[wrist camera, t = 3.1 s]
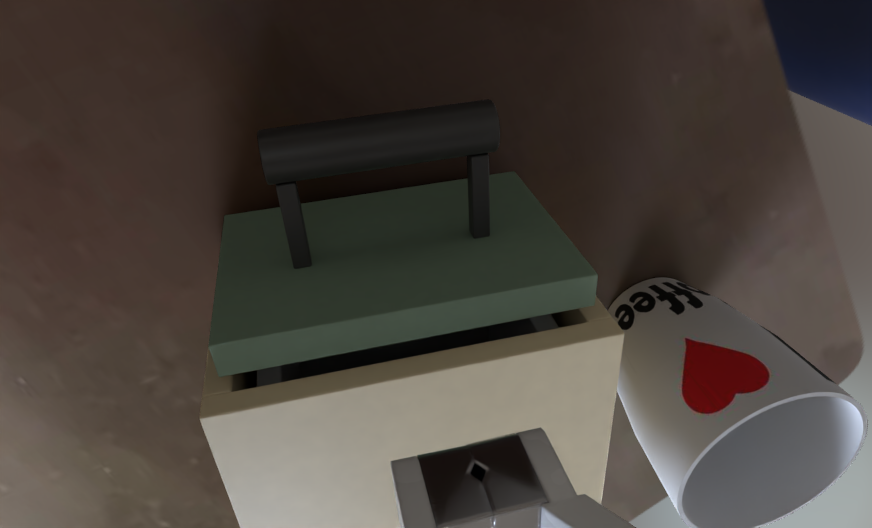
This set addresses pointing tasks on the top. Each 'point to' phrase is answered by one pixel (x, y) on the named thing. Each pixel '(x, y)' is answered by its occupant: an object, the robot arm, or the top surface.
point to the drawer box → (409, 421)
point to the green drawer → (387, 252)
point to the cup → (728, 408)
